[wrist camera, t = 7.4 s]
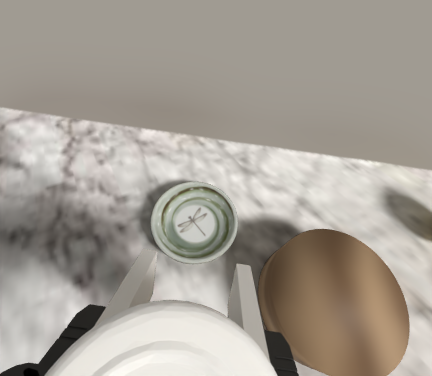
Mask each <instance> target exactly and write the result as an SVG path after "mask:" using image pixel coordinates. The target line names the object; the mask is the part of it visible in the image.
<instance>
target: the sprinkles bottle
mask: <svg viewBox="0 0 432 376" xmlns="http://www.w3.org/2000/svg"><path fill="white" fill-rule="evenodd" d="M45 376H277V374H276V372H275V370H274V368H273V366H272V365H271V363H270V362H269V360H268V358H267V357H266V356H265V354H264V353H263V351H262V350H261V348H260V347H259V346H258V344H257V343H256V342H255V341H254V340H253V338H252V337H251V336H250V335H248V334H247V333H246V332H245V331H244V330H243V329H242V328H241V327H240V326H239V325H238V324H236V323H235V322H233V321H232V320H231V319H229V318H228V317H226V316H225V315H223V314H222V313H220V312H218V311H216V310H214V309H212V308H209V307H207V306H204V305H200V304H196V303H192V302H188V301H178V300H163V301H153V302H148V303H144V304H139V305H137V306H134V307H131V308H128V309H125V310H123V311H121V312H119V313H117V314H115V315H113V316H111V317H109V318H107V319H106V320H104V321H102V322H101V323H99V324H98V325H96V326H95V327H93V328H92V329H91V330H89V331H88V332H87V333H85V334H84V335H83V336H81V337H80V338H79V339H78V340H77V341H76V342H75V343H73V344H72V345H71V346H70V347H69V348H68V349H67V350H66V351H65V352H64V353H63V355H62V356H61V357H60V358H59V359H58V360H57V361H56V362H55V364H54V365H53V366H52V367H51V368H50V369H49V370H48V372H47V373H46V374H45Z"/></svg>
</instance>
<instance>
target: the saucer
mask: <svg viewBox="0 0 432 376" xmlns="http://www.w3.org/2000/svg"><path fill="white" fill-rule="evenodd" d="M150 224H151V232H152V235H153V238H154V240H155V242H156V244H157V246H158V247H159V248H160V249H161V250H162V251H163V252H164V253H165V254H166V255H167V256H169V257H170V258H172V259H174V260H176V261H179V262H182V263H186V264H202V263H206V262H210V261H212V260H214V259H216V258H218V257H220V256H221V255H222V254H224V253H225V252H226V251H227V250H228V249H229V247H230V246H231V244H232V243H233V241H234V239H235V236H236V233H237V229H238V217H237V212H236V209H235V207H234V205H233V203H232V201H231V200H230V198H229V197H228V196H227V195H226V194H225V193H224V192H223V191H221V190H220V189H219V188H217V187H215V186H213V185H210V184H207V183H203V182H186V183H181V184H178V185H176V186H174V187H172V188H170V189H169V190H167V191H166V192H165V193H164V194H163V195H162V196H161V197H160V198H159V199H158V201H157V202H156V204H155V206H154V208H153V211H152V215H151V223H150Z"/></svg>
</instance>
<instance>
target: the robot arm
mask: <svg viewBox="0 0 432 376" xmlns="http://www.w3.org/2000/svg"><path fill="white" fill-rule="evenodd" d="M156 259H157V251H154V250H148V249H143V250H142V252H141V253H140V255H139V256H138V258H137V260H136V261H135V263H134V264H133V266H132V267H131V269H130V271H129V272H128V274H127V275H126V277H125V278H124V280H123V282H122V283H121V285H120V286H119V288H118V290H117V291H116V293H115V294H114V296H113V297H112V299H111V301H110V302H109V304H108V305H107V307H104V306H97V305H91V304H90V305H88V306H87V307H85V308H84V309H83V310H81V311H80V312H78V313H77V314H76V315H75V317H74V318H73V319H72V321H71V322H70V323H69V325H68V327H67V328H65V330H64V331H63V332H62V334H61V335H60V337H59V339H57V340H56V341H55V343H54V344H53V345H52V347H51V348H50V349H49V351H48V352H47V353H46V354H45V356H44V357H43V358H42V360H41V361H40V362H39V364H34V363H25V364H21V365H16V366H14V367H12V368H10V369H8V370H6V371H4V372H2V373H1V374H0V376H45V374H46V373H47V372H48V370H49V369H50V368H51V367H52V366H53V365H54V364H55V362H56V361H57V360H58V359H59V358H60V357H61V356H62V355H63V353H64V352H65V351H66V350H67V349H68V348H69V347H70V346H71V345H72V344H73V343H75V342H76V341H77V340H78V339H79V338H80V337H81V336H83V335H84V334H85V333H87V332H88V331H89V330H91V329H92V328H93V327H95V326H96V325H98V324H99V323H101V322H102V321H104V320H106V319H107V318H109V317H111V316H113V315H115V314H117V313H119V312H121V311H123V310H125V309H128V308H131V307H134V306H137V305H139V304H144V303H148V302H149V301H150V299H151V296H152V294H153V287H154V278H155V269H156ZM228 318H229V319H231V320H232V321H233V322H235V323H236V324H238V325H239V326H240V327H241V328H242V329H243V330H244V331H245V332H246V333H247V334H248V335H250V336H251V337H252V338H253V340H254V341H255V342H256V343H257V344H258V346H259V347H260V348H261V350H262V351H263V353H264V354H265V356H266V357H267V358H268V360H269V362H270V363H271V365H272V366H273V368H274V370H275V372H276V374H277V376H299V374H298V373H297V368H296V365H295V362H294V360H293V359H294V358H293V355H292V352H291V349H290V345H289V344H288V342H287V341H286V339H285V338H284V336H283V335H282V334H281V333H280V332H274V331H267V330H263V325H262V320H261V315H260V310H259V305H258V300H257V296H256V291H255V286H254V281H253V276H252V271H251V267H250V266H249V265H243V264H236V268H235V273H234V278H233V282H232V287H231V292H230V296H229V301H228Z"/></svg>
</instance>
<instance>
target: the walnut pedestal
mask: <svg viewBox="0 0 432 376" xmlns="http://www.w3.org/2000/svg"><path fill="white" fill-rule="evenodd" d="M258 302H259V308H260V312H261V316H262V318H263V321H264V324H265V326H266V328H267V330H268V331H274V332H280V333H281V334H282V335H283V336H284V338H285V339H286V341H287V342H288V344H289V345H290V349H291V352H292V355H293V358H294V360H295V361H297V362H299V363H301V364H302V365H305V366H307V367H310V368H312V369H315V370H317V371H319V372H322V373H324V374H327V375H329V376H387V375H388V374H389V373H391V372H392V371H393V370H394V369H395V368H396V367H397V365H398V364H399V363H400V362H401V360H402V358H403V356H404V354H405V351H406V348H407V345H408V339H409V326H410V325H409V314H408V310H407V305H406V302H405V298H404V295H403V293H402V291H401V288H400V286H399V284H398V282H397V280H396V278H395V277H394V275H393V274H392V272H391V271H390V269H389V268H388V266H387V265H386V264H385V263H384V261H383V260H382V259H381V258H380V257H379V256H378V255H377V254H376V253H375V252H374V251H373V250H372V249H370V248H369V247H368V246H367V245H365V244H364V243H362V242H361V241H359V240H357V239H356V238H354V237H352V236H350V235H348V234H345V233H342V232H339V231H335V230H329V229H314V230H309V231H306V232H303V233H301V234H299V235H297V236H295V237H294V238H292V239H291V240H290V241H289V242H287V243H286V244H285V245H284V246H282V247H281V248H280V249H279V250H277V251H276V252H275V253H274V254H273V255H272V256H271V257H270V258H269V259H268V260H267V262H266V263H265V265H264V267H263V269H262V272H261V274H260V278H259V283H258Z"/></svg>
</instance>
